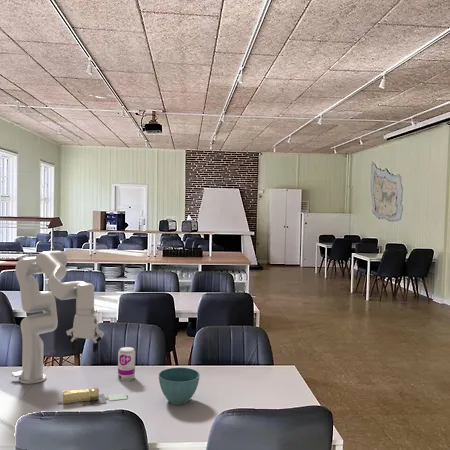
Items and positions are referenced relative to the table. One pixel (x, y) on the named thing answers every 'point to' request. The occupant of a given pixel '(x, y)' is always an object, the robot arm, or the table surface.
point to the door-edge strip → (81, 401)
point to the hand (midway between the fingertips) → (85, 350)
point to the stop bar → (80, 395)
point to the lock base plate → (99, 401)
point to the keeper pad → (117, 397)
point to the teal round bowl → (178, 384)
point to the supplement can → (126, 363)
